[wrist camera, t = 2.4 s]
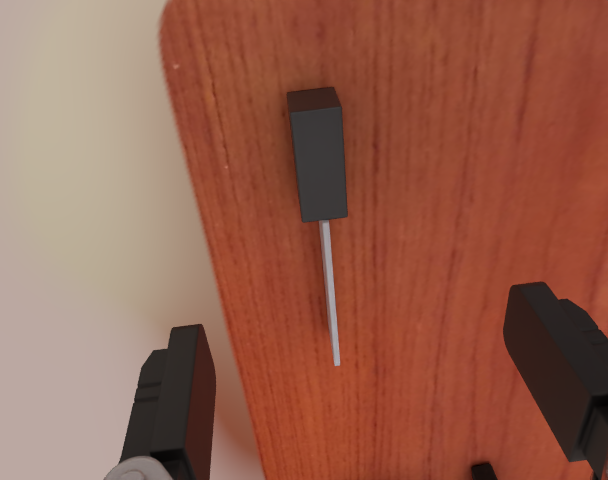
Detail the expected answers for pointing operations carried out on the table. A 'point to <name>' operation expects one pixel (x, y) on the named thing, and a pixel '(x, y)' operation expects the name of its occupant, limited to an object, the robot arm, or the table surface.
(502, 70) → the table surface
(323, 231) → the knife
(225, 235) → the table surface
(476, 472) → the lighter
